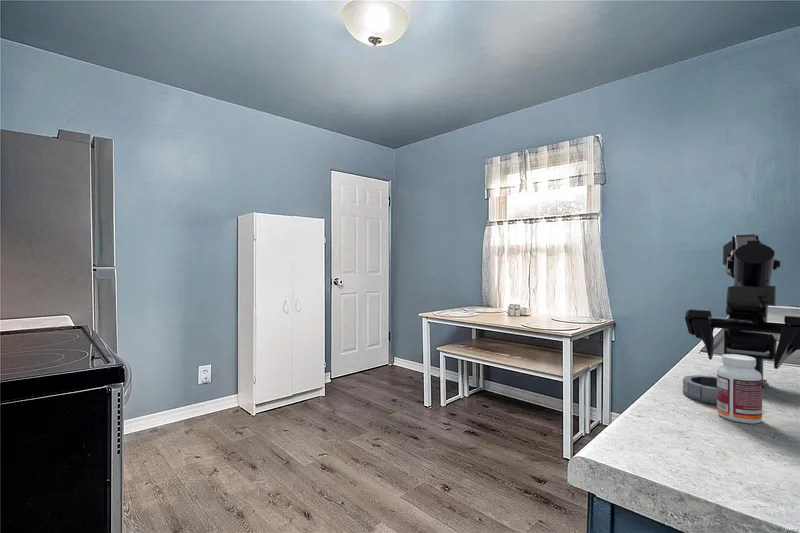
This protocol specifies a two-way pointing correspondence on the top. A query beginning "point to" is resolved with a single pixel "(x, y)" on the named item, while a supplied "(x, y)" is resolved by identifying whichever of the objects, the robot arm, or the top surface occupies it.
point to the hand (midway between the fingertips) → (741, 362)
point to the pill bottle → (739, 389)
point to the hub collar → (701, 388)
